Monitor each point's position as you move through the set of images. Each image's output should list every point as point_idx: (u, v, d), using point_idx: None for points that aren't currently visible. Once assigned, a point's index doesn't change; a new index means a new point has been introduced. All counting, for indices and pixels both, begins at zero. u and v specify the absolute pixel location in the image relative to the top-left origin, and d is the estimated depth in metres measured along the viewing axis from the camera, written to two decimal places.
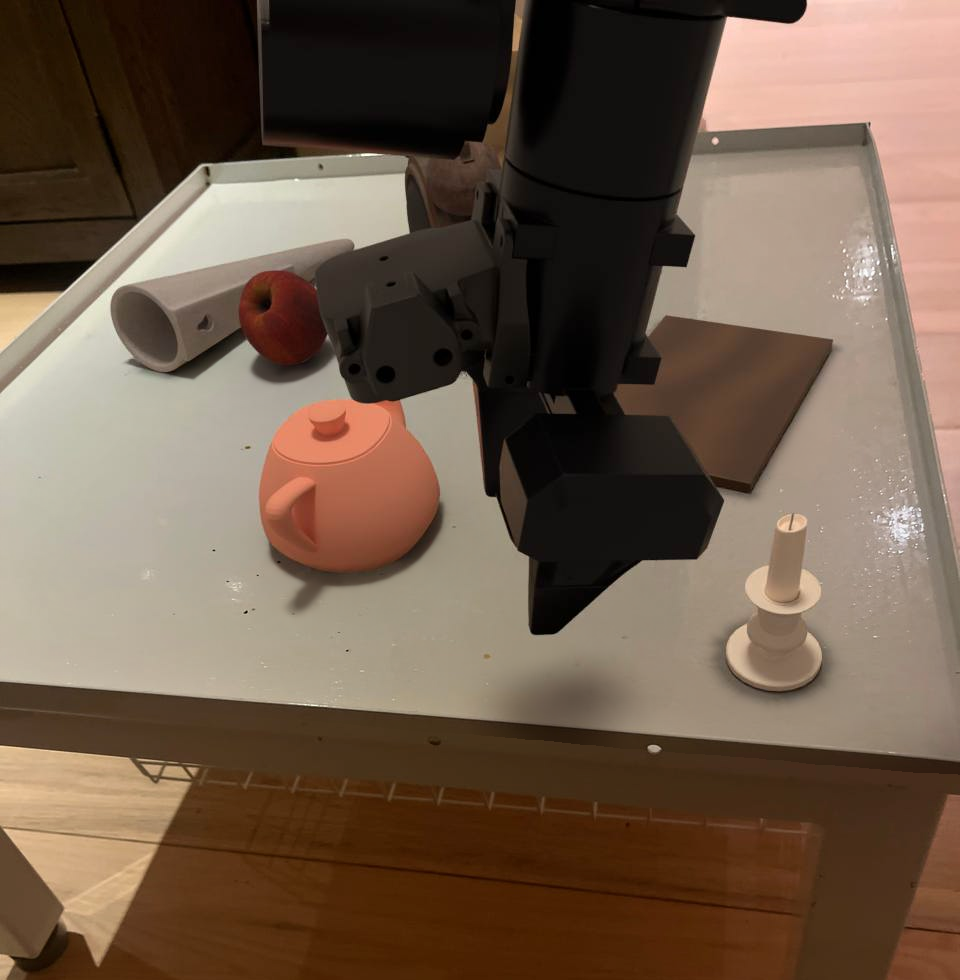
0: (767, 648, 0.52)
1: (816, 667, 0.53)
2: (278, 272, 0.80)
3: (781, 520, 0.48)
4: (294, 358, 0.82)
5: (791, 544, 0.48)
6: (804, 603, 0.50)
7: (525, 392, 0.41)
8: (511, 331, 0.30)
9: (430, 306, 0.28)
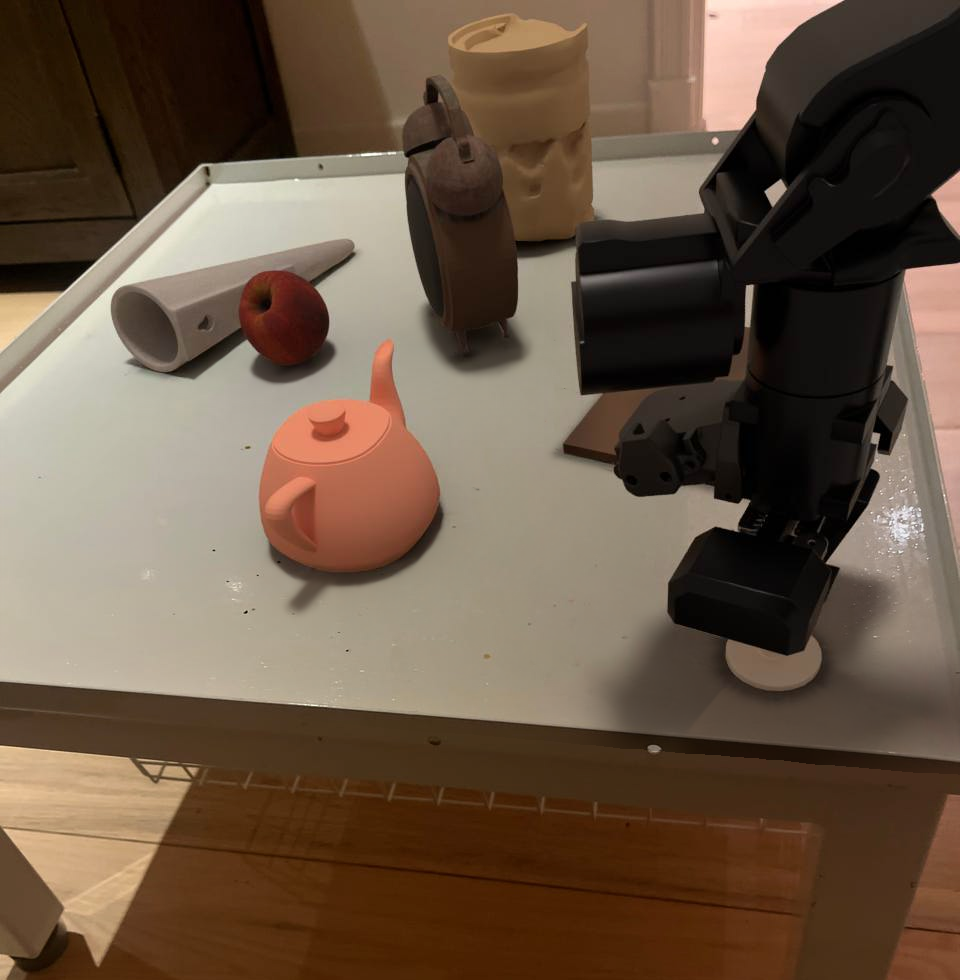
0: None
1: (815, 667, 0.53)
2: (278, 272, 0.80)
3: None
4: (294, 358, 0.82)
5: None
6: None
7: None
8: (726, 466, 0.44)
9: (656, 445, 0.43)
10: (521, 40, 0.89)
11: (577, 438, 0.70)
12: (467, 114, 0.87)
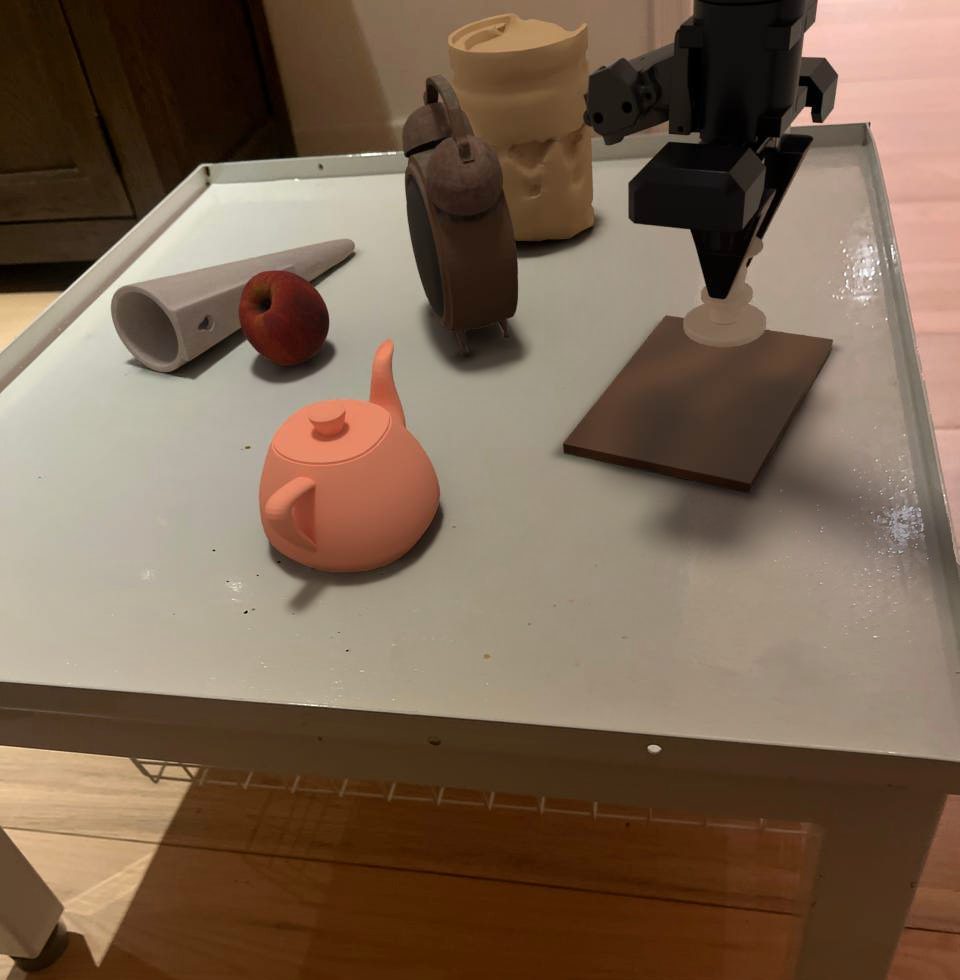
0: (718, 305, 0.60)
1: (760, 327, 0.61)
2: (278, 272, 0.80)
3: None
4: (294, 358, 0.82)
5: None
6: (748, 254, 0.58)
7: None
8: (678, 95, 0.51)
9: (618, 74, 0.51)
10: (521, 40, 0.89)
11: (577, 438, 0.70)
12: (467, 114, 0.87)
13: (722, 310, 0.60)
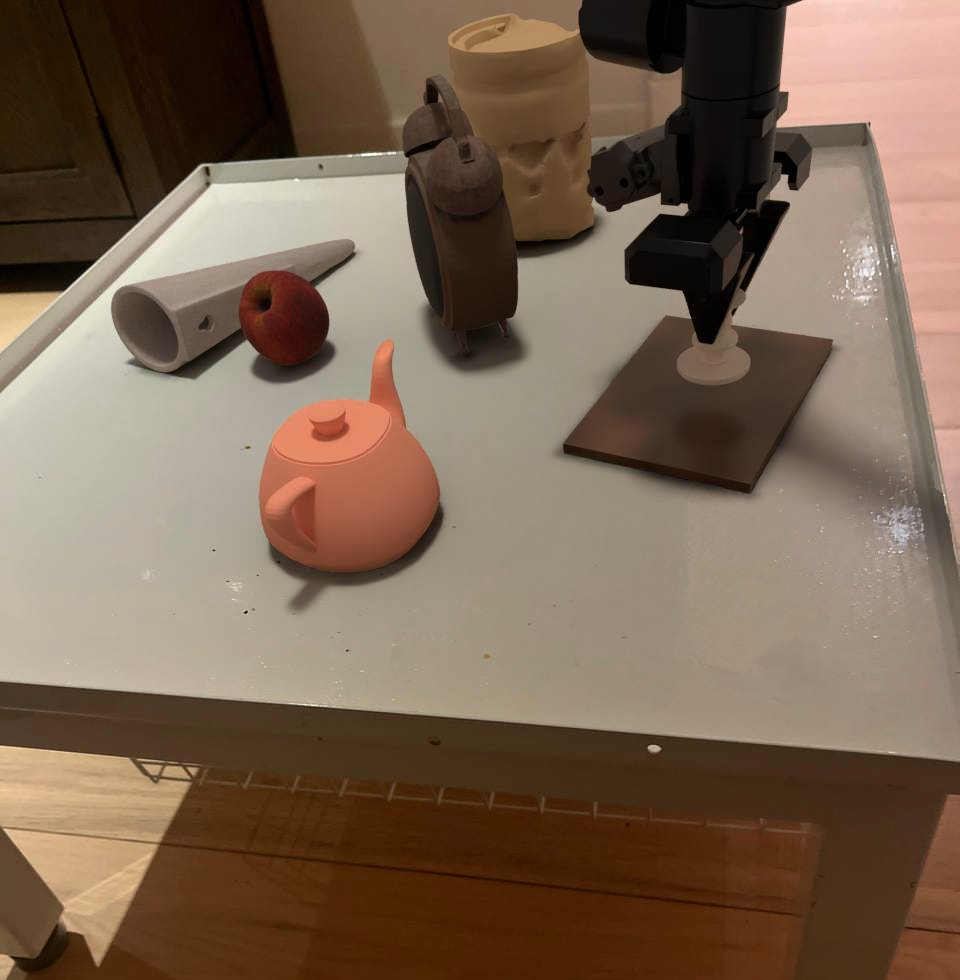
0: (706, 349, 0.68)
1: (745, 367, 0.68)
2: (278, 272, 0.80)
3: None
4: (294, 358, 0.82)
5: None
6: (732, 304, 0.65)
7: None
8: (668, 173, 0.59)
9: (616, 156, 0.59)
10: (521, 40, 0.89)
11: (577, 438, 0.70)
12: (467, 114, 0.87)
13: (711, 352, 0.68)
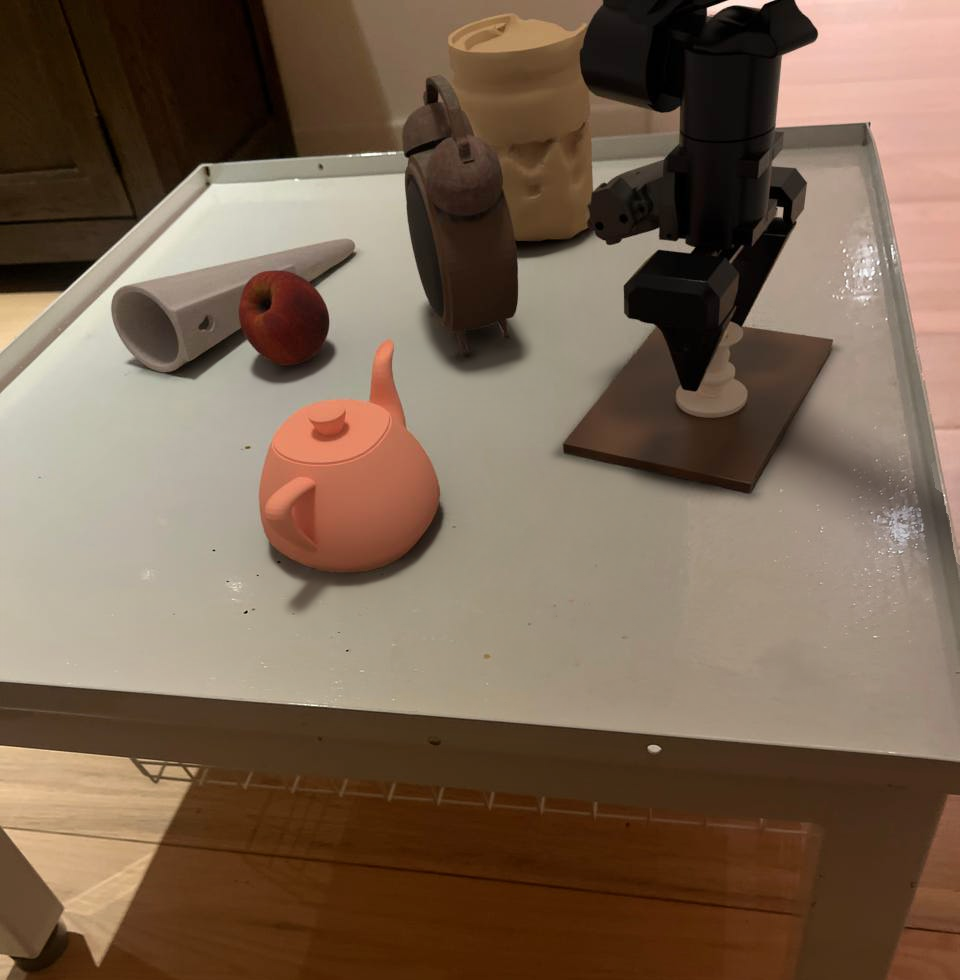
0: (704, 382, 0.69)
1: (742, 400, 0.70)
2: (278, 272, 0.80)
3: None
4: (294, 358, 0.82)
5: None
6: (729, 341, 0.67)
7: (749, 260, 0.69)
8: (666, 209, 0.61)
9: (616, 193, 0.61)
10: (521, 40, 0.89)
11: (577, 438, 0.70)
12: (467, 114, 0.87)
13: (708, 386, 0.70)
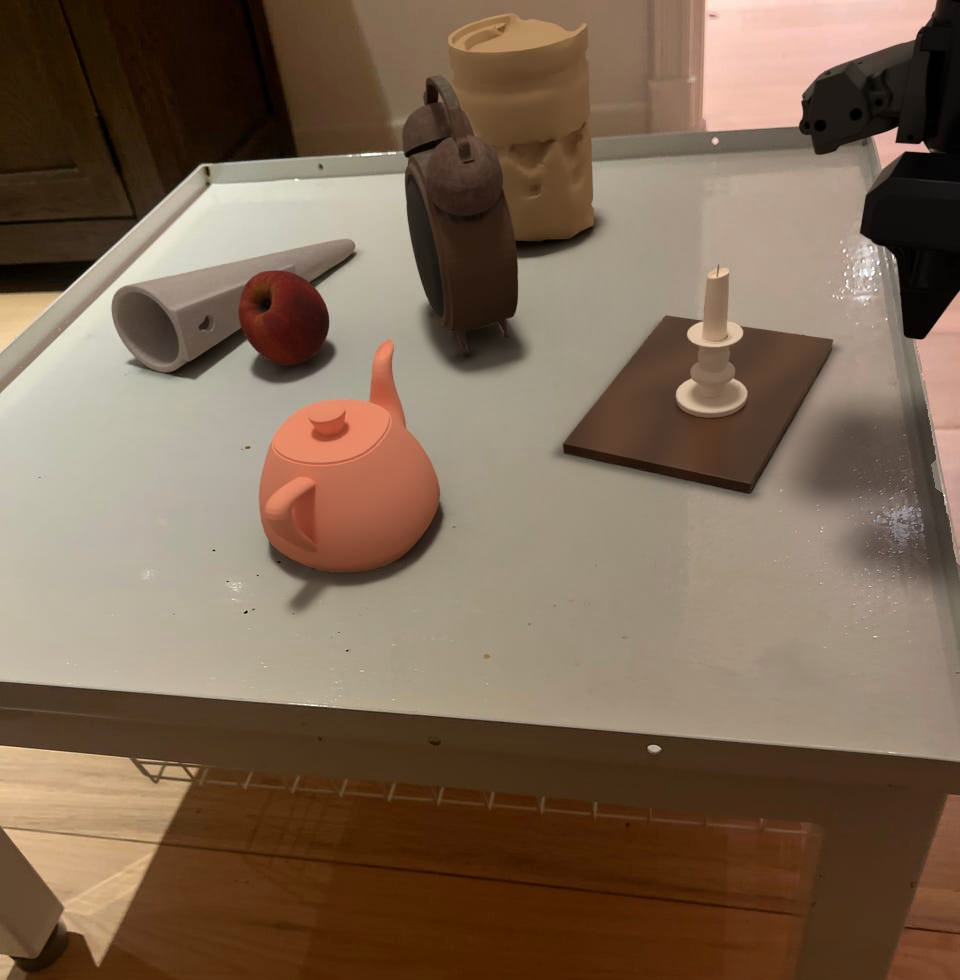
0: (704, 382, 0.69)
1: (742, 400, 0.70)
2: (278, 272, 0.80)
3: (711, 272, 0.65)
4: (294, 358, 0.82)
5: (718, 288, 0.65)
6: (729, 341, 0.67)
7: None
8: (912, 102, 0.48)
9: (850, 79, 0.47)
10: (521, 40, 0.89)
11: (577, 438, 0.70)
12: (467, 114, 0.87)
13: (708, 386, 0.70)
